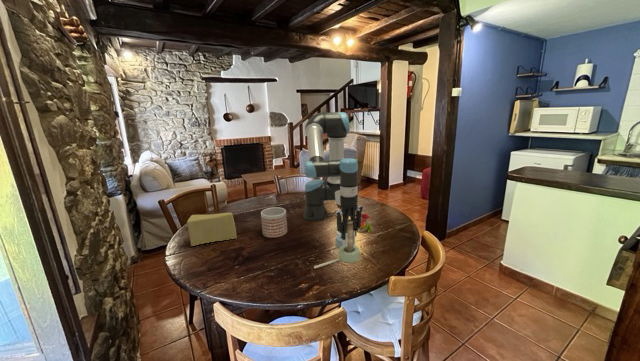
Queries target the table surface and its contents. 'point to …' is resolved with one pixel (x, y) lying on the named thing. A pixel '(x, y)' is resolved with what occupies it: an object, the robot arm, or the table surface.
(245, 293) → the table surface
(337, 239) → the blue bead
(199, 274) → the table surface
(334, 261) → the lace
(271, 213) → the planter
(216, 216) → the cheese
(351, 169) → the robot arm
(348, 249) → the wooden dowel
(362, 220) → the red green lumpy piece
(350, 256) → the bead
